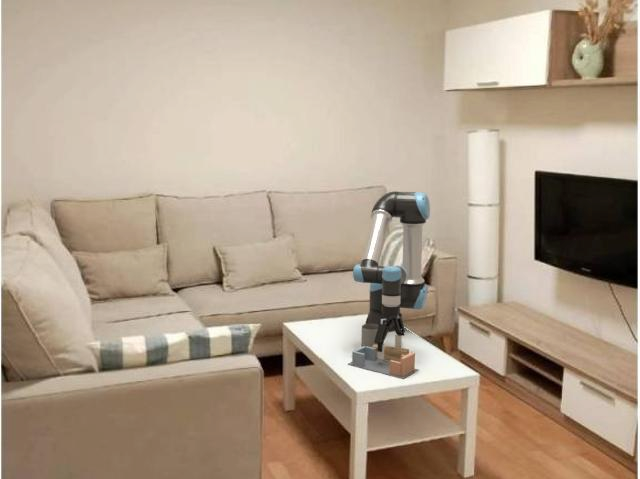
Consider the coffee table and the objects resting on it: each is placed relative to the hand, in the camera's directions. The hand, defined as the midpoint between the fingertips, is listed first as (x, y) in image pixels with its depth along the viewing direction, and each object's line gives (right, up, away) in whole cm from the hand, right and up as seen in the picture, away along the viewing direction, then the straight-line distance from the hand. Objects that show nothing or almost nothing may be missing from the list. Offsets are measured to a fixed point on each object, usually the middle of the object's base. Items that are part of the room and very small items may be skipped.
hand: (389, 354), depth 305 cm
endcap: (+4, -4, -14) cm, 15 cm away
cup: (-7, 0, +13) cm, 15 cm away
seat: (-3, -4, -9) cm, 10 cm away
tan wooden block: (0, -2, +1) cm, 2 cm away
